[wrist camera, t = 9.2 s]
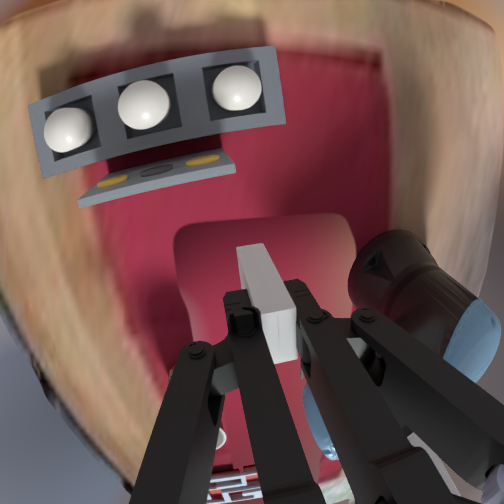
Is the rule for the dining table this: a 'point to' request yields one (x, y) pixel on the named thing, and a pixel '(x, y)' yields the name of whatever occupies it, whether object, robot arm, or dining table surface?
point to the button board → (180, 116)
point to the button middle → (144, 105)
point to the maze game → (234, 486)
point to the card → (159, 176)
